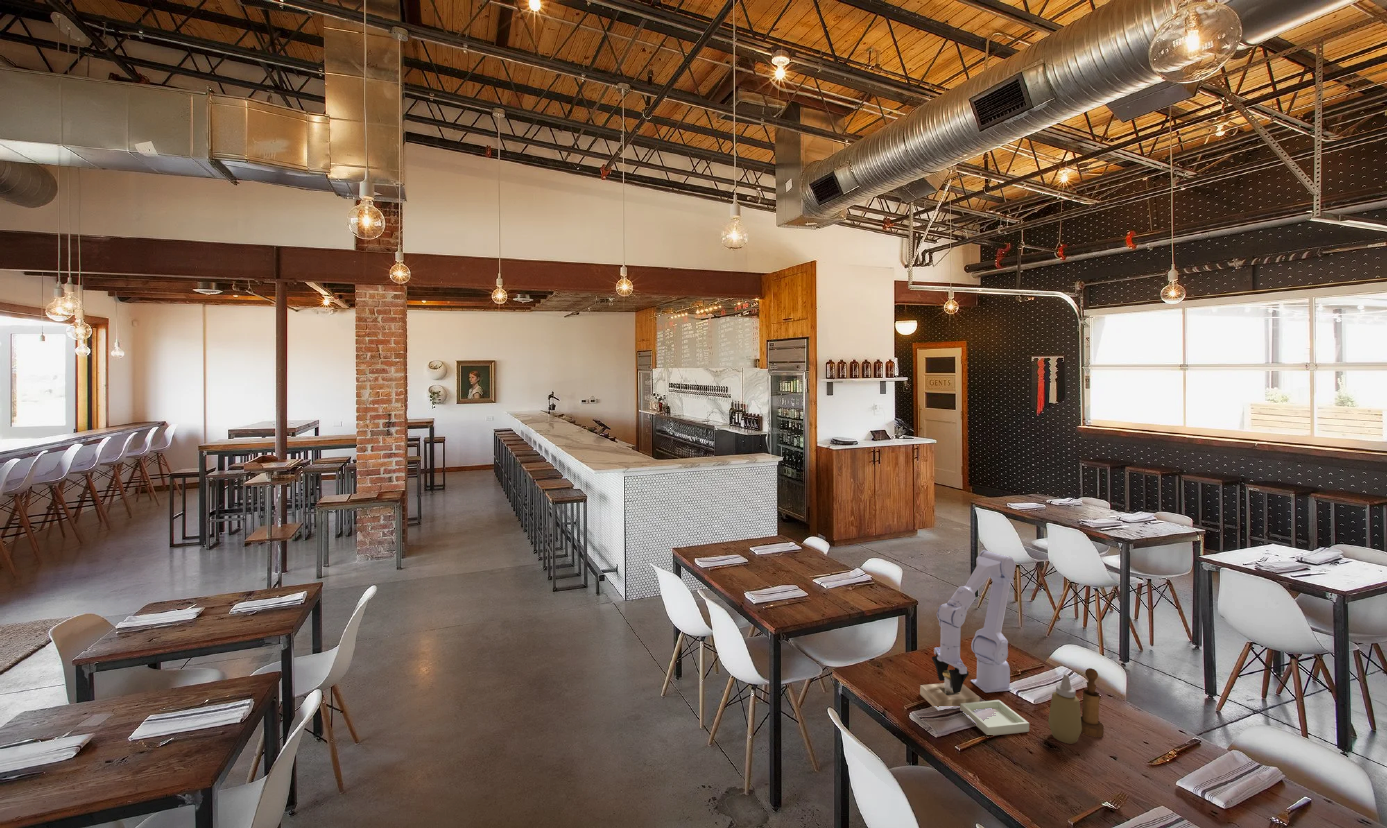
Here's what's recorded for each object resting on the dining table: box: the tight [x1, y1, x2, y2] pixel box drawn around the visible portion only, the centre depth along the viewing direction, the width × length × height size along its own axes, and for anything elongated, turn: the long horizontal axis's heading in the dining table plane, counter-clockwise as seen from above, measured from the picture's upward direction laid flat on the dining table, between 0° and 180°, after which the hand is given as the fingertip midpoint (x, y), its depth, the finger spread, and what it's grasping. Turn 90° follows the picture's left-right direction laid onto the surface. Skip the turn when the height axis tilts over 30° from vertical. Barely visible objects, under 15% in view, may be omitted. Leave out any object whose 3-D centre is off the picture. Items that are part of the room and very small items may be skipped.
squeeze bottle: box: [1047, 674, 1082, 745], centre depth 169 cm, size 8×8×18 cm
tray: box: [959, 699, 1030, 736], centre depth 177 cm, size 13×13×2 cm
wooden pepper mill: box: [1081, 667, 1105, 738], centre depth 172 cm, size 7×6×18 cm
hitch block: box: [919, 682, 981, 707], centre depth 189 cm, size 14×10×3 cm
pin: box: [943, 669, 955, 695], centre depth 189 cm, size 4×4×9 cm
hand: (949, 685), depth 189 cm, fingers open, 7 cm apart
